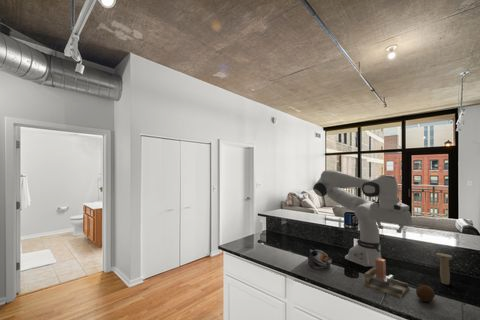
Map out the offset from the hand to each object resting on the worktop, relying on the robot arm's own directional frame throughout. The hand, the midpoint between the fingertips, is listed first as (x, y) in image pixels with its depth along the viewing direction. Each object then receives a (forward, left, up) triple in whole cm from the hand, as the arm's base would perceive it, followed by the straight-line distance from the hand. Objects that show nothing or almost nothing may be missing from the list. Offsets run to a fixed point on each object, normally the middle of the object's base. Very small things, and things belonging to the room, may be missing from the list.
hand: (389, 230), depth 122 cm
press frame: (-1, -6, -28) cm, 29 cm away
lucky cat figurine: (-36, -9, -28) cm, 47 cm away
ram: (-2, -6, -27) cm, 27 cm away
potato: (+15, -6, -28) cm, 33 cm away
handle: (+18, +22, -28) cm, 40 cm away
